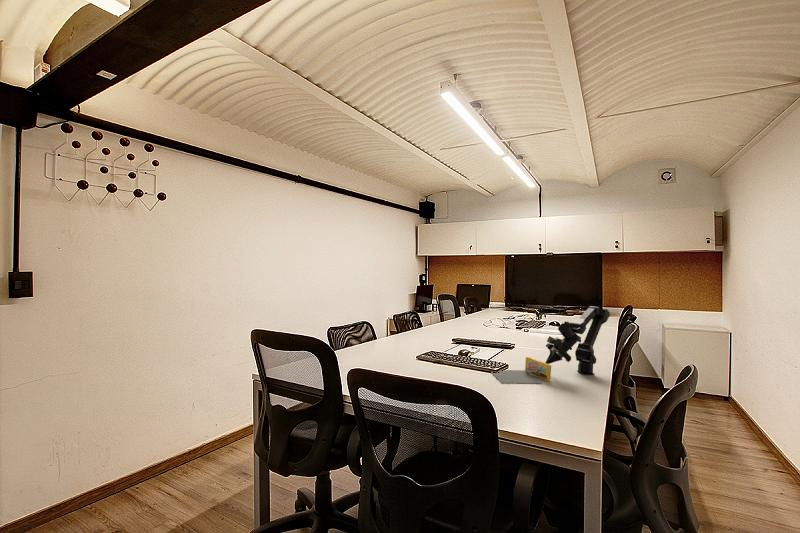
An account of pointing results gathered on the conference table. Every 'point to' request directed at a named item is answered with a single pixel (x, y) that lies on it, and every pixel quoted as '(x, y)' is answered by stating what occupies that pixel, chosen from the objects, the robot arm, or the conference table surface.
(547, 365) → the candy box
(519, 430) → the conference table surface
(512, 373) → the mat
